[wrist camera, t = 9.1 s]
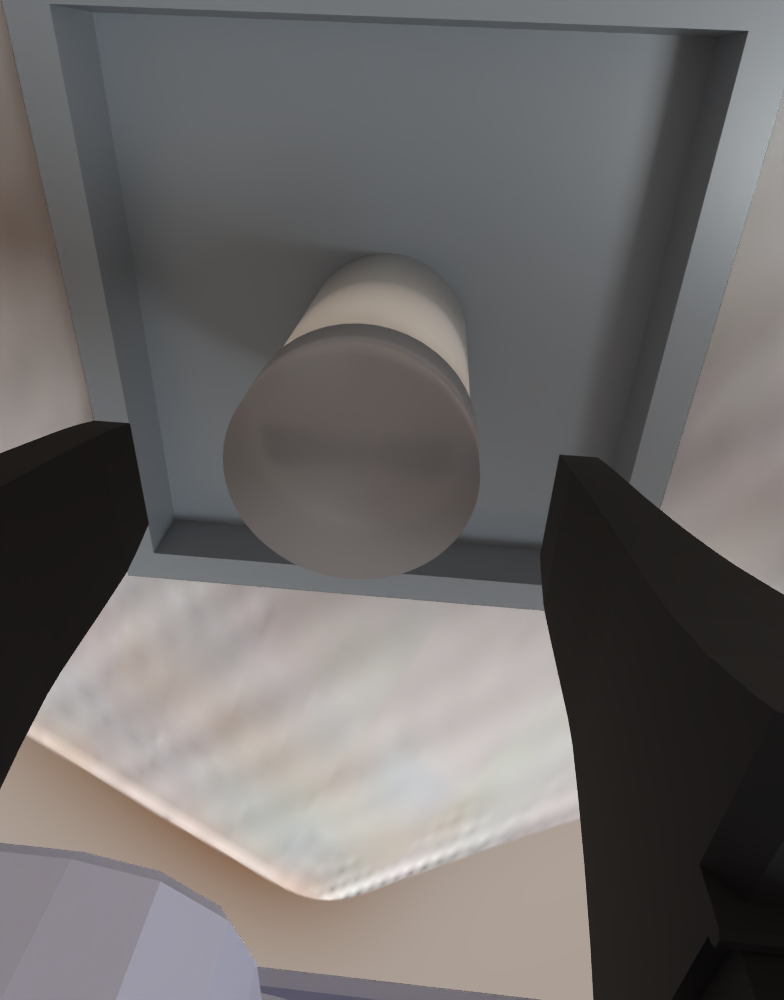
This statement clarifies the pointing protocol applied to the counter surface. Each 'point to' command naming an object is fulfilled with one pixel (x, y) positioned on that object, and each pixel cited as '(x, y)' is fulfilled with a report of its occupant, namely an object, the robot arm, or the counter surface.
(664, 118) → the tray
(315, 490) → the shaker
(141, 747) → the counter surface
